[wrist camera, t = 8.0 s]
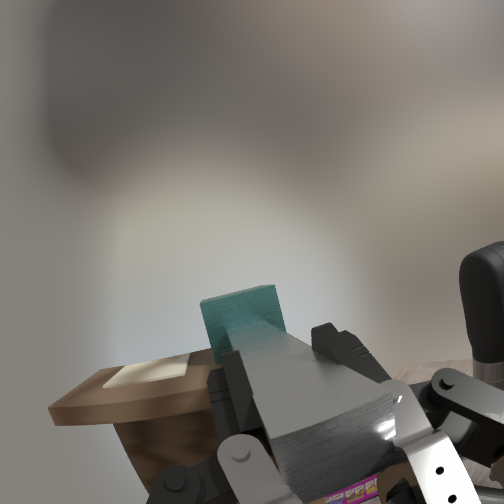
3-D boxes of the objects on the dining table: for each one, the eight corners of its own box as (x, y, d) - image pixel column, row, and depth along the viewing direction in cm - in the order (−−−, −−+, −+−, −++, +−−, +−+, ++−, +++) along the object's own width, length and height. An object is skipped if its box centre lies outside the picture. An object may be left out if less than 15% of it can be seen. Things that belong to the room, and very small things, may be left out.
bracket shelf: (326, 520, 27) (280, 327, 29) (357, 569, 15) (323, 350, 18) (194, 549, 23) (99, 367, 26) (195, 603, 12) (46, 405, 14)
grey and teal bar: (273, 333, 28) (261, 285, 29) (437, 436, 6) (422, 271, 6) (215, 349, 27) (202, 300, 28) (233, 521, 5) (163, 349, 5)
